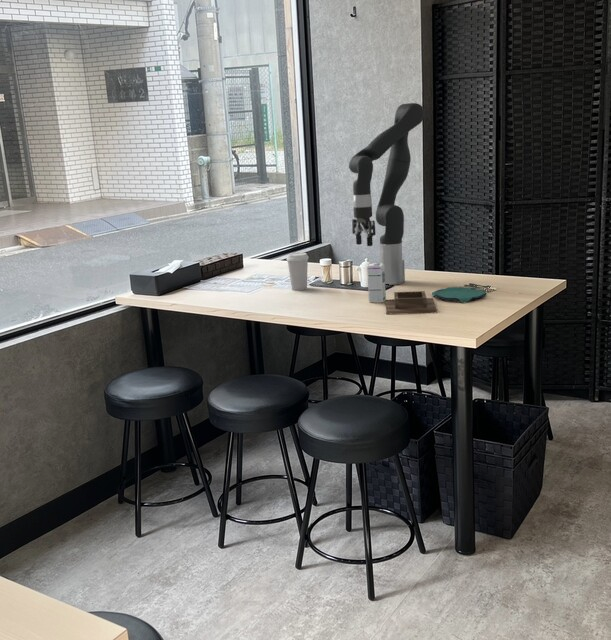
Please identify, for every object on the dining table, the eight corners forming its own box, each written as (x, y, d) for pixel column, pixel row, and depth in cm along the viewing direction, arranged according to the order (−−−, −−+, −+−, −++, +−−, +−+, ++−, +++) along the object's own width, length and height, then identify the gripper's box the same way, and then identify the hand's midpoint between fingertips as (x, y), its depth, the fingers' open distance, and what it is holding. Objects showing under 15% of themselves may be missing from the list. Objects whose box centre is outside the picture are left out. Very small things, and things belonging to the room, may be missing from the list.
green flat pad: (422, 299, 299) (422, 293, 298) (466, 285, 319) (466, 280, 319) (466, 306, 285) (466, 300, 285) (509, 291, 305) (509, 286, 305)
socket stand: (385, 302, 296) (385, 290, 295) (433, 300, 294) (432, 288, 293) (386, 314, 279) (386, 301, 278) (436, 312, 277) (436, 299, 276)
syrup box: (383, 302, 296) (382, 265, 293) (368, 302, 298) (366, 265, 294) (386, 299, 302) (384, 262, 298) (371, 299, 303) (369, 262, 299)
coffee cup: (285, 291, 327) (283, 256, 323) (291, 286, 336) (289, 252, 332) (307, 291, 324) (305, 255, 321) (312, 286, 333) (310, 251, 330)
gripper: (379, 205, 310) (381, 245, 314) (361, 204, 322) (363, 242, 326) (363, 207, 307) (365, 247, 310) (345, 205, 319) (347, 244, 323)
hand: (364, 245), depth 318 cm, fingers open, 8 cm apart
